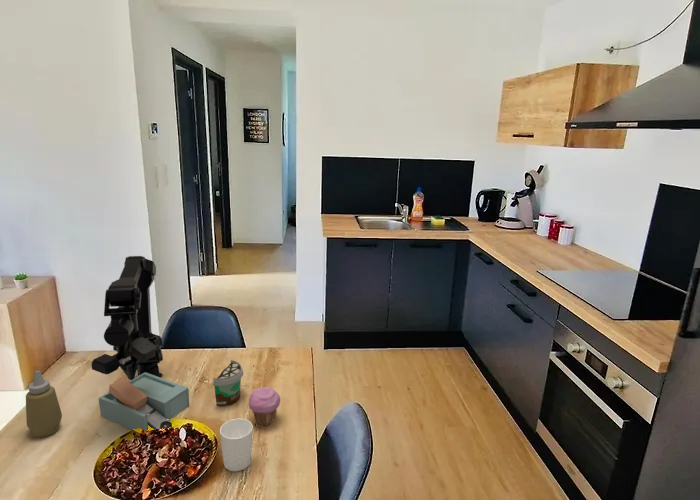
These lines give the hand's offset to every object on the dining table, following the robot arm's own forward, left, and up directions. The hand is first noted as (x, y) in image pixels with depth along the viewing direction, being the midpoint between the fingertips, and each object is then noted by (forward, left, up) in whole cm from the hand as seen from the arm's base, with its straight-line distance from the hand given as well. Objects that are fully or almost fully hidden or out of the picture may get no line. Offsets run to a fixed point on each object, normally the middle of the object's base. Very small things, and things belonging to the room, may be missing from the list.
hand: (131, 379), depth 127 cm
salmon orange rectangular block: (-2, 0, -6) cm, 7 cm away
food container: (+18, +21, -13) cm, 30 cm away
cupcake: (+33, +17, -13) cm, 39 cm away
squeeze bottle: (-16, -15, -13) cm, 25 cm away
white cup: (+37, 0, -13) cm, 39 cm away
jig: (0, +4, -12) cm, 13 cm away
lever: (+4, 0, -10) cm, 11 cm away
